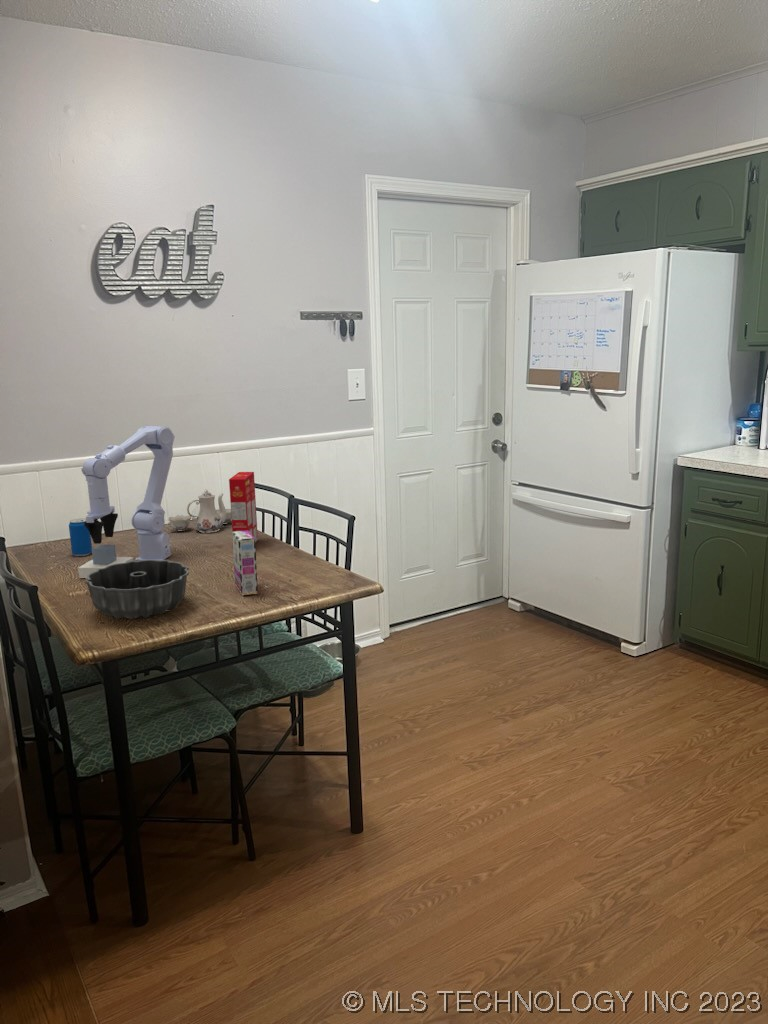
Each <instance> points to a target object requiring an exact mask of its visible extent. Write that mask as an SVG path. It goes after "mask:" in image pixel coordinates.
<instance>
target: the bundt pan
mask: <svg viewBox="0 0 768 1024" xmlns="http://www.w3.org/2000/svg"><path fill="white" fill-rule="evenodd" d="M189 569H190V568H189V566H186V565H184V563H182V562H178V561H171V560H169V559H165V560H161V561H160V560H141V561H135V560H133V561H129V562H126V563H118V564H113V565H109V566H107V567H105V568H100V569H97V570H96V571H95V572H93V573H90V574H89V575H88V576H87V579H85V580H84V582H85V584H87V588H88V591H89V595H90V596H89V597H90V599H91V602H92V605H93V606H94V607H95V608H96V610H98V611H100V612H101V613H102V614H104V615H106V616H108V617H114V618H115V619H117V620H120V619H119V618H121V619H124V618H127V619H130V620H132V619H133V620H135V619H138V618H139V617H143V618H145V619H148V618H149V617H150V616H151V615H153V616H159V615H162V614H163V613H166V612H167V611H166V610H171V611H172V610H174V609H175V608H176V607H177V606H178V605H179V604H181V602H182V601H183V599H184V598H185V595H186V590H187V589H186V588H187V579H188V578H187V576H189V574H190V571H189ZM123 617H124V618H123ZM147 617H148V618H147Z"/></svg>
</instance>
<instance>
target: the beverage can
mask: <svg viewBox="0 0 768 1024" xmlns="http://www.w3.org/2000/svg"><path fill="white" fill-rule="evenodd" d="M85 521H86V518H73V519H71V520H69V524H68V530H69V538H70V539H69V540H70V549H71V554H72V555H73V556H74V557H78V556H81V557H86V555H87V556H90V555H91V554H92V548H93V545H92V537H91V535H90V532H89V531H88V529H87V528H86V526H85V525H84V522H85ZM89 554H90V555H89Z"/></svg>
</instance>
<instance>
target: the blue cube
mask: <svg viewBox="0 0 768 1024" xmlns="http://www.w3.org/2000/svg"><path fill="white" fill-rule="evenodd" d="M91 555H92V559H93V564H99V565H109V564H110V563H112V562H114V561H116V557H117V552H116V545H115V544H103V543H100V544H98V545H96V546H94V547H92V552H91Z"/></svg>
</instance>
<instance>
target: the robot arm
mask: <svg viewBox="0 0 768 1024" xmlns="http://www.w3.org/2000/svg"><path fill="white" fill-rule="evenodd" d="M171 429H172V428H170V427H169V426H165V425H164V426H155V425H148V424H146V425H143V426H142V427H140V428H138V429H137V431H136V432H135V433H134V434H132V435H131V436H130V437H129V438H128V439H126V440H125V441H124V442H122V443H121V444H120V445H117V444H116V445H115V444H114V445H113V444H112V445H111V444H110V445H107V447H106V449H105V450H103V451H102V452H100V453H97V454H95V457H94V458H92V457H89V458H87V459H85V461H84V462H83V463H82V468H81V472H82V474H83V475H84V476H85V481H86V482H87V483H86V484H87V490H88V491H87V493H88V498H89V499H88V501H89V509H90V510H88V511H86V513H87V515H86V516H85V519H86V521H85V522H84V525H85V526H86V528H87V529H88V531H89V532H90V535H91V541H92V542H93V544H96V545H97V544H98V545H100V544H102V541H103V540H102V539H103V533H104V536H105V538H113V537H114V533H115V532H114V531H115V525H116V521H117V519H118V517H119V515H118V513H115V512H116V511H115V510H116V509H115V506H113V505H111V504H110V495H109V487H108V486H109V485H108V476H109V475H110V473H111V470H112V469H114V468H115V467H116V466H118V465H119V464H121V463H123V462H124V461H125V459H126V455H128V454H130V453H131V452H133V451H135V450H136V449H139V448H140V447H141V446H143V445H144V446H146V448H147V449H149V450H150V451H151V452H152V454H153V456H154V459H153V462H152V467H151V470H150V473H149V478H148V482H147V487H146V490H145V495H144V498H143V501H142V502H141V503H140V504H139V505H138V506H137V507H136V510H135V511H134V513H133V514H132V516H131V525H132V527H133V528H134V529H135V532H136V533H137V539H138V551H139V556H138V557H136V558H135V559H134V561H141V560H160V561H161V560H167V558H169V557H170V556H172V553H171V545H170V544H171V543H170V536H169V533H168V532H164V531H163V529H164V527H165V514H166V510H164V508H163V507H162V506H161V505H162V500H163V497H164V492H165V488H166V484H167V480H168V476H169V472H170V468H171V463H172V459H173V455H174V453H173V452H174V451H173V450H174V449H173V448H174V447H173V445H174V441H175V434H174V433H173V431H172V430H171ZM99 519H100V521H99ZM102 532H103V533H102Z"/></svg>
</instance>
